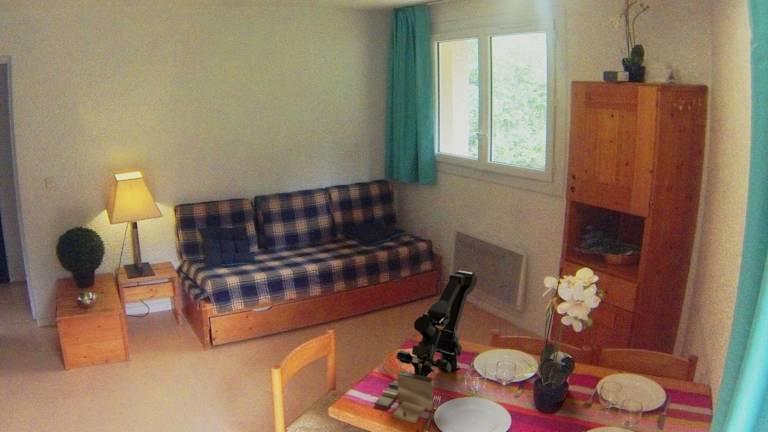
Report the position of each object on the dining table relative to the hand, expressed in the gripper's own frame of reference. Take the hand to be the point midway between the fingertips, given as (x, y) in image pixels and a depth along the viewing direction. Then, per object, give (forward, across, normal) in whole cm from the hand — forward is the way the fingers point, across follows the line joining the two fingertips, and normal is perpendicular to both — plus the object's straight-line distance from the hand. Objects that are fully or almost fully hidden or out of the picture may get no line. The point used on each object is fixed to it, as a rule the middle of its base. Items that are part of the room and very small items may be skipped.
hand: (416, 385), depth 206 cm
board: (+4, -10, +5) cm, 12 cm away
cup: (-16, +42, +26) cm, 51 cm away
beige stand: (+9, 0, +1) cm, 9 cm away
